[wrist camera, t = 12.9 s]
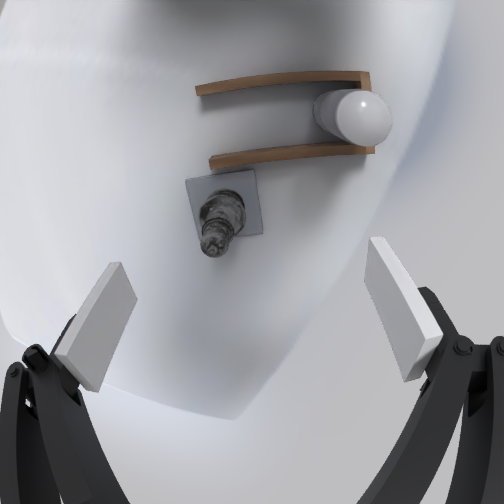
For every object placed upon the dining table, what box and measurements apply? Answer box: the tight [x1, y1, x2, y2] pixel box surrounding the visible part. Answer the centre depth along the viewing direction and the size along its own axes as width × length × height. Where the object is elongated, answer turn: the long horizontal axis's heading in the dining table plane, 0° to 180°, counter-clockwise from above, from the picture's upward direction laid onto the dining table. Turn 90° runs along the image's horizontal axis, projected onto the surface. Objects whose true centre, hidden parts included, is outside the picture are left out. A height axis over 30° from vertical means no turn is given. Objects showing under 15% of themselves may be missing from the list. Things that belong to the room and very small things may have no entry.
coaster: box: [185, 169, 263, 241], centre depth 37 cm, size 9×9×1 cm
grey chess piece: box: [198, 188, 246, 258], centre depth 32 cm, size 6×6×12 cm
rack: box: [195, 71, 375, 170], centre depth 30 cm, size 10×20×2 cm, turn 98°
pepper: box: [313, 89, 392, 147], centre depth 26 cm, size 6×6×11 cm
